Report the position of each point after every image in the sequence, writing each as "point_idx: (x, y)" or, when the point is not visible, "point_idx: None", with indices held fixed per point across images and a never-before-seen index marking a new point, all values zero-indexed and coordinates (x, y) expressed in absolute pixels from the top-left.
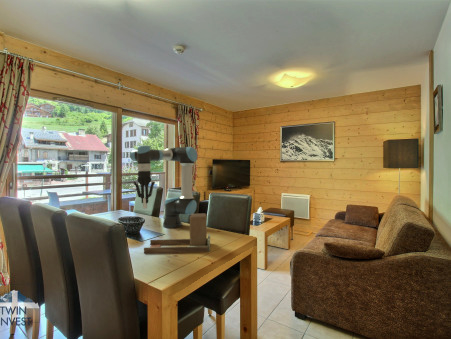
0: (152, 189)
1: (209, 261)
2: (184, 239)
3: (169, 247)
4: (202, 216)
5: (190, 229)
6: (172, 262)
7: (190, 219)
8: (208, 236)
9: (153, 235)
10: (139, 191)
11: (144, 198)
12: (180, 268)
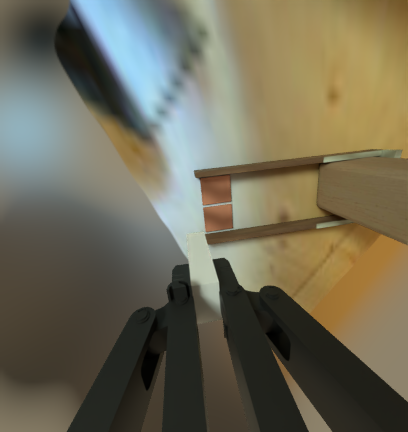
0: (374, 388)
1: (351, 263)
2: (307, 163)
3: (271, 233)
4: None
5: (364, 226)
6: (280, 275)
7: (404, 243)
8: None
9: (161, 54)
10: (134, 415)
11: (211, 320)
12: (298, 295)
